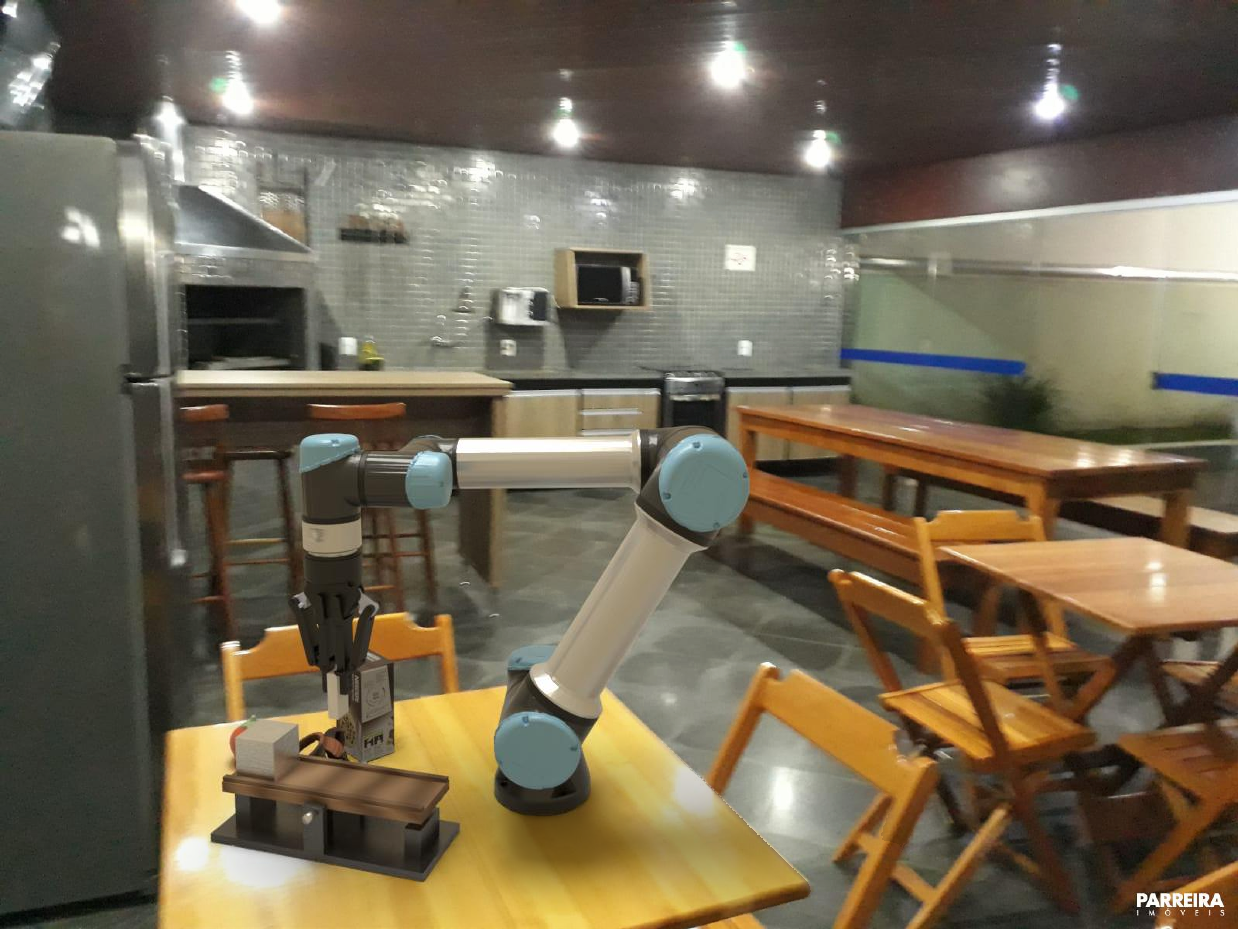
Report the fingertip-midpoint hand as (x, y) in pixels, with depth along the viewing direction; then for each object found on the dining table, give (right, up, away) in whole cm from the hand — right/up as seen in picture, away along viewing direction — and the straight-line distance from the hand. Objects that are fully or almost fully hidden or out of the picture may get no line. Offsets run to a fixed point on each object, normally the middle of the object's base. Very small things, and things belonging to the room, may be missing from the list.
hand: (338, 714), depth 120 cm
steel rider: (-11, -9, +4) cm, 15 cm away
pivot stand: (-1, -18, +3) cm, 18 cm away
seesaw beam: (-1, -11, +2) cm, 11 cm away
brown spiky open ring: (-9, -15, +19) cm, 26 cm away
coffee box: (-4, -14, +28) cm, 32 cm away
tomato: (-21, -14, +23) cm, 34 cm away
